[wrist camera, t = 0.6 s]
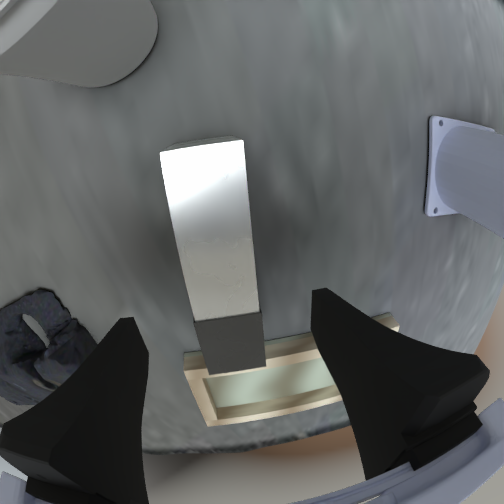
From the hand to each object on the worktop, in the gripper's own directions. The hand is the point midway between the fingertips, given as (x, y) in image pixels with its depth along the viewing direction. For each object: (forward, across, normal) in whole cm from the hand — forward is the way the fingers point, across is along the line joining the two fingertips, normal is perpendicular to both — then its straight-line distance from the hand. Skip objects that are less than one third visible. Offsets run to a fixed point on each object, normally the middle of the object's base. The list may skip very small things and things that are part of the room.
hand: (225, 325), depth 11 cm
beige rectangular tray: (+8, -5, +14) cm, 17 cm away
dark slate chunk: (+9, +22, +10) cm, 26 cm away
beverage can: (+8, +5, -14) cm, 17 cm away
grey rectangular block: (+8, 0, 0) cm, 8 cm away
